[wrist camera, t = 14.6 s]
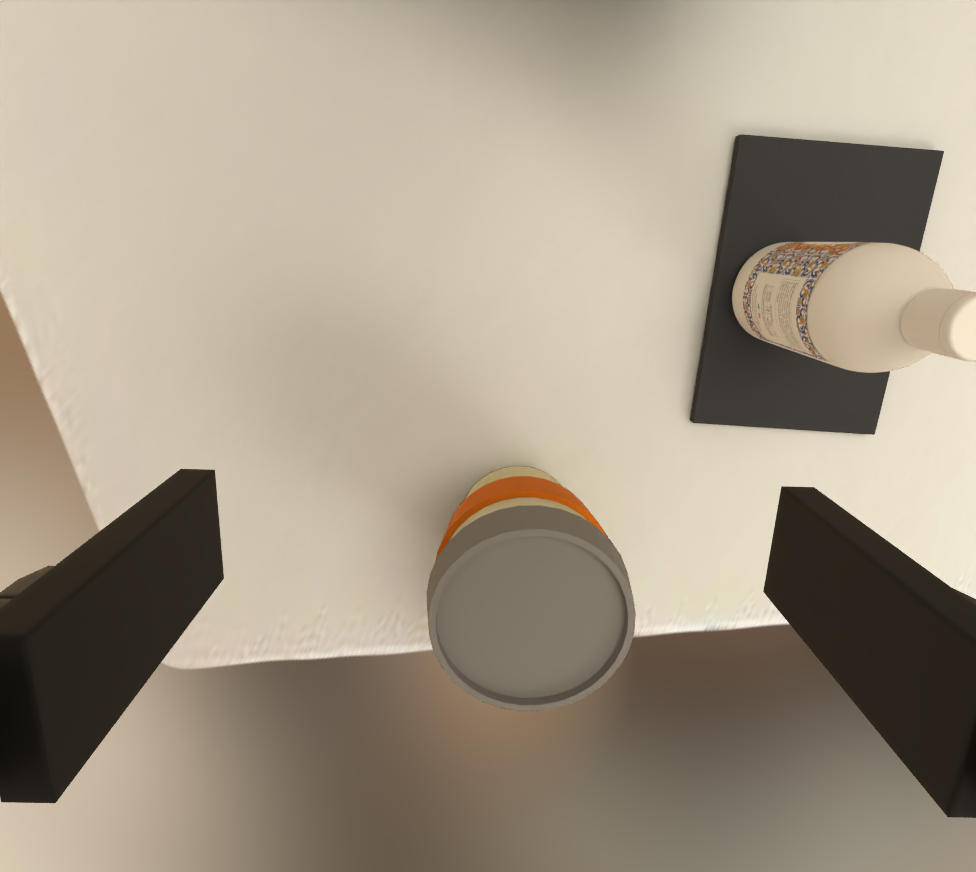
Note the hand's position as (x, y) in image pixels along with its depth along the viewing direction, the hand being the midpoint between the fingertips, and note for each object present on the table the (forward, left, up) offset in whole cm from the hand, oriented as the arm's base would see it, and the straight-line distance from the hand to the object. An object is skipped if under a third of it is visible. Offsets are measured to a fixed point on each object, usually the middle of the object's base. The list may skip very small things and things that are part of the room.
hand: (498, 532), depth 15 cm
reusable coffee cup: (+14, +4, -35) cm, 38 cm away
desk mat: (-5, +23, -34) cm, 42 cm away
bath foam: (-5, +21, -34) cm, 40 cm away
